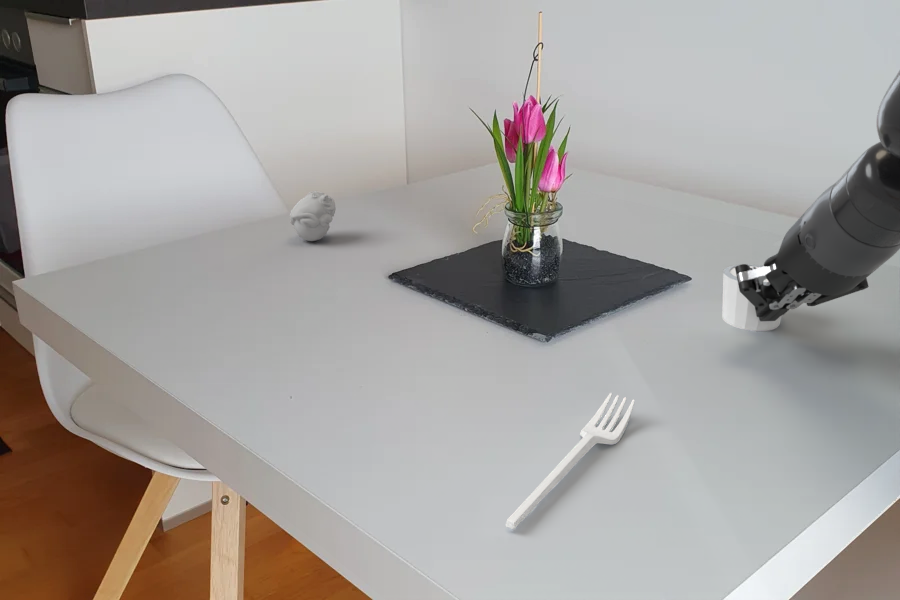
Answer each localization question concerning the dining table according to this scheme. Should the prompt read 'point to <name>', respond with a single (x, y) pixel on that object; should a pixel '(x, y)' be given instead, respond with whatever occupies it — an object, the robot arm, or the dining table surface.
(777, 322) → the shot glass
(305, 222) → the frog figurine
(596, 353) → the dining table surface
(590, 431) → the fork
